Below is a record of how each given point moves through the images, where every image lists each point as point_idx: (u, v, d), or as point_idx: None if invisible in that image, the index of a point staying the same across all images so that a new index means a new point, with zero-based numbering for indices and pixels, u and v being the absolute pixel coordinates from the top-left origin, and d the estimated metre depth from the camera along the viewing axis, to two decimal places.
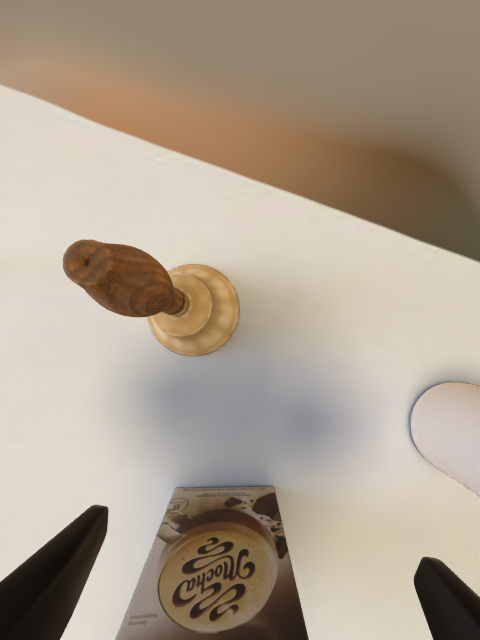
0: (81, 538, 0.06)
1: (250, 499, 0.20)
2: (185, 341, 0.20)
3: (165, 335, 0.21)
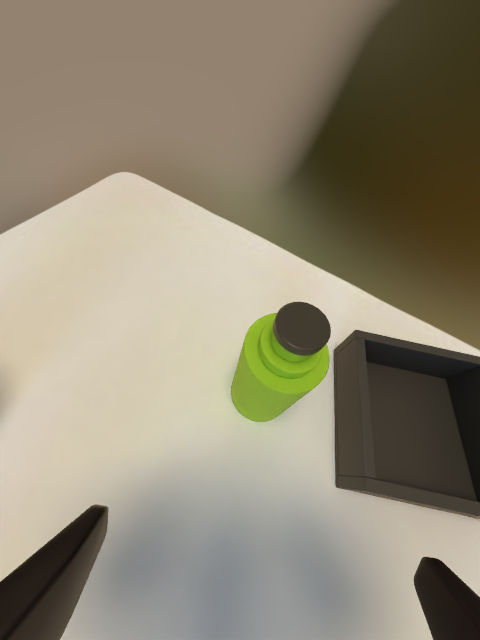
0: (81, 538, 0.06)
1: None
2: None
3: None
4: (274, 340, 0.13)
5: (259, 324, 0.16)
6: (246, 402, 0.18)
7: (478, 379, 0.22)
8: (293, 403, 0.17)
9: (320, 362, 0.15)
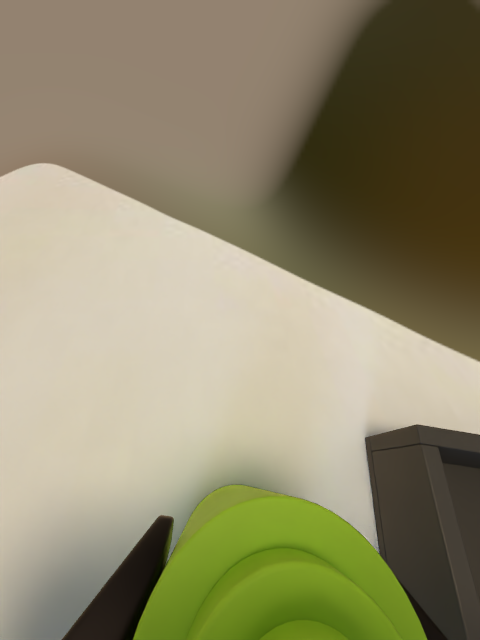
0: (159, 550, 0.06)
1: None
2: None
3: None
4: None
5: (188, 569, 0.04)
6: None
7: None
8: None
9: None
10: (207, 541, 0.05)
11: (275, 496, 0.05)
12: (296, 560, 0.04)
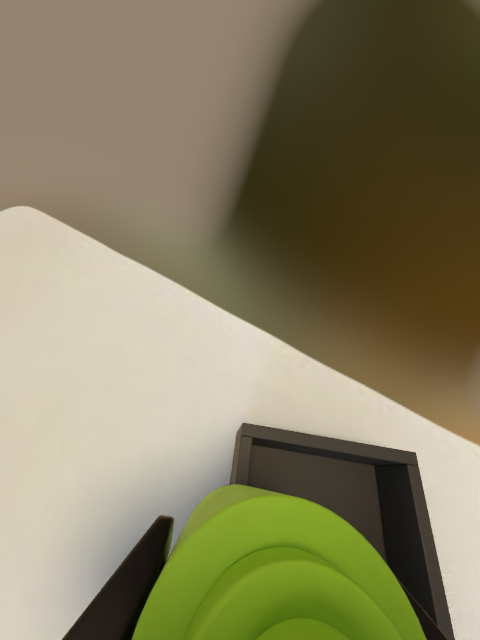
0: (159, 550, 0.06)
1: None
2: None
3: None
4: None
5: (187, 568, 0.04)
6: None
7: (402, 481, 0.17)
8: None
9: None
10: (206, 540, 0.05)
11: (274, 495, 0.05)
12: (295, 559, 0.04)
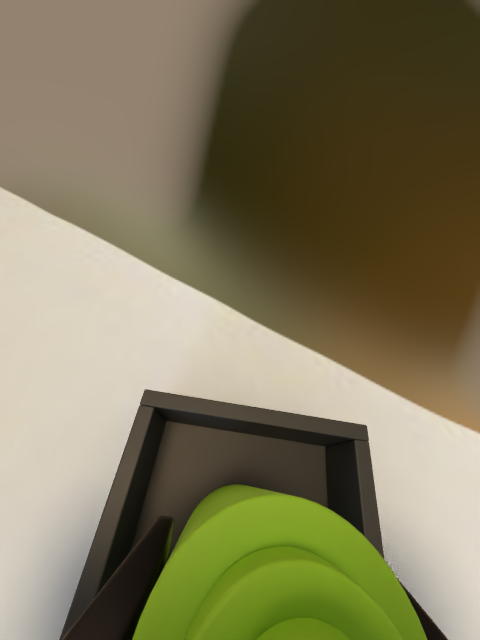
0: (159, 550, 0.06)
1: None
2: None
3: None
4: None
5: (188, 568, 0.04)
6: None
7: (349, 462, 0.13)
8: None
9: None
10: (207, 540, 0.05)
11: (275, 495, 0.05)
12: (296, 558, 0.04)
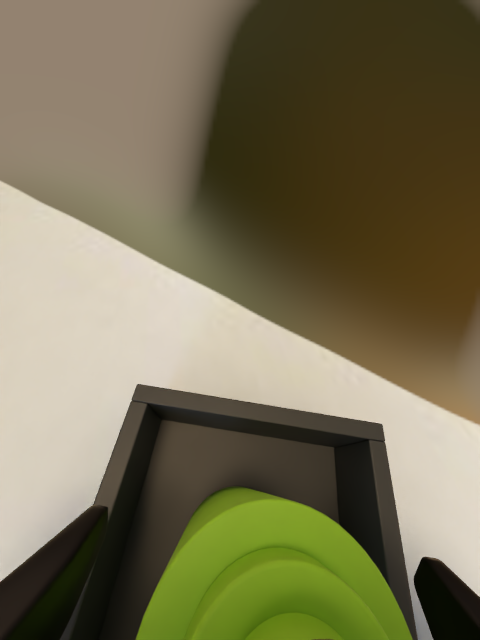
0: (81, 538, 0.06)
1: None
2: None
3: None
4: None
5: (189, 568, 0.05)
6: None
7: (363, 465, 0.12)
8: None
9: None
10: (206, 541, 0.05)
11: (270, 499, 0.06)
12: (287, 558, 0.04)
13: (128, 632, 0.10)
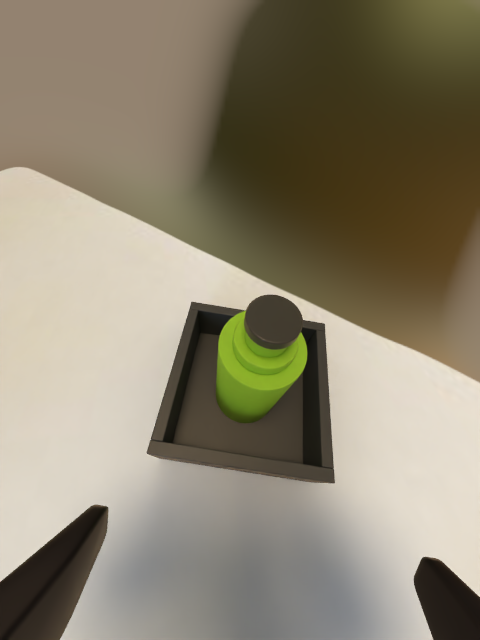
0: (81, 538, 0.06)
1: None
2: None
3: None
4: (247, 336, 0.13)
5: (234, 321, 0.15)
6: (228, 403, 0.18)
7: (313, 344, 0.22)
8: (275, 401, 0.16)
9: (298, 356, 0.14)
10: (239, 316, 0.15)
11: None
12: None
13: (191, 421, 0.21)
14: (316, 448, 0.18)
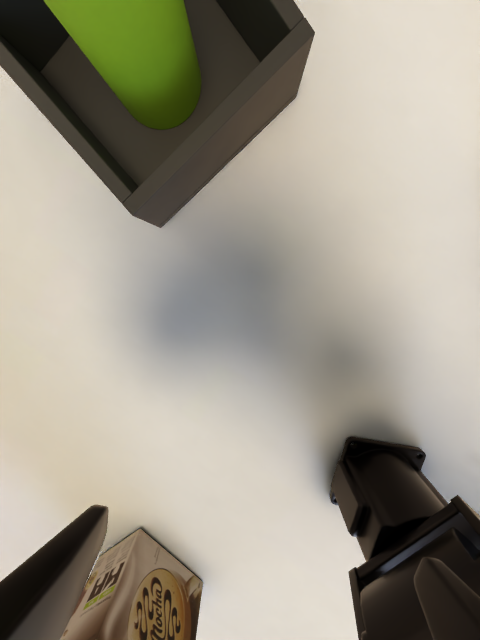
0: (81, 538, 0.06)
1: None
2: None
3: None
4: None
5: None
6: (142, 84, 0.12)
7: None
8: None
9: None
10: None
11: None
12: None
13: (147, 171, 0.16)
14: (272, 25, 0.12)
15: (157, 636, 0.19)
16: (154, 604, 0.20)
